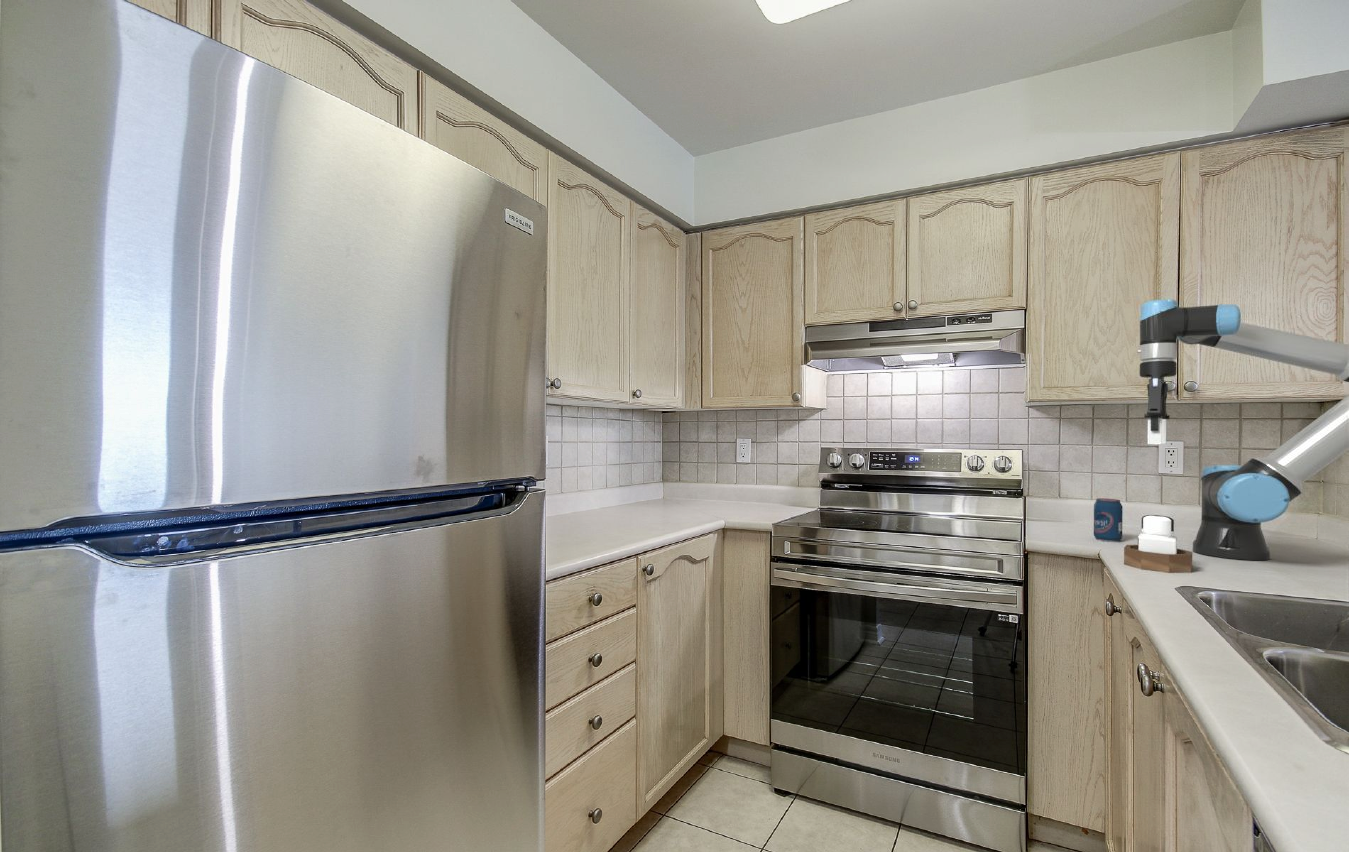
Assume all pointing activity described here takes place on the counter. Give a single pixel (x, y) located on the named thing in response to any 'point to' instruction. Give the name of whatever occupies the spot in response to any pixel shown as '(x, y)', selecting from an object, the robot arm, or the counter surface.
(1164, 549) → the medicine bottle
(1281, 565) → the counter surface
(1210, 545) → the robot arm
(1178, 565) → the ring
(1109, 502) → the soda can
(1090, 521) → the counter surface
